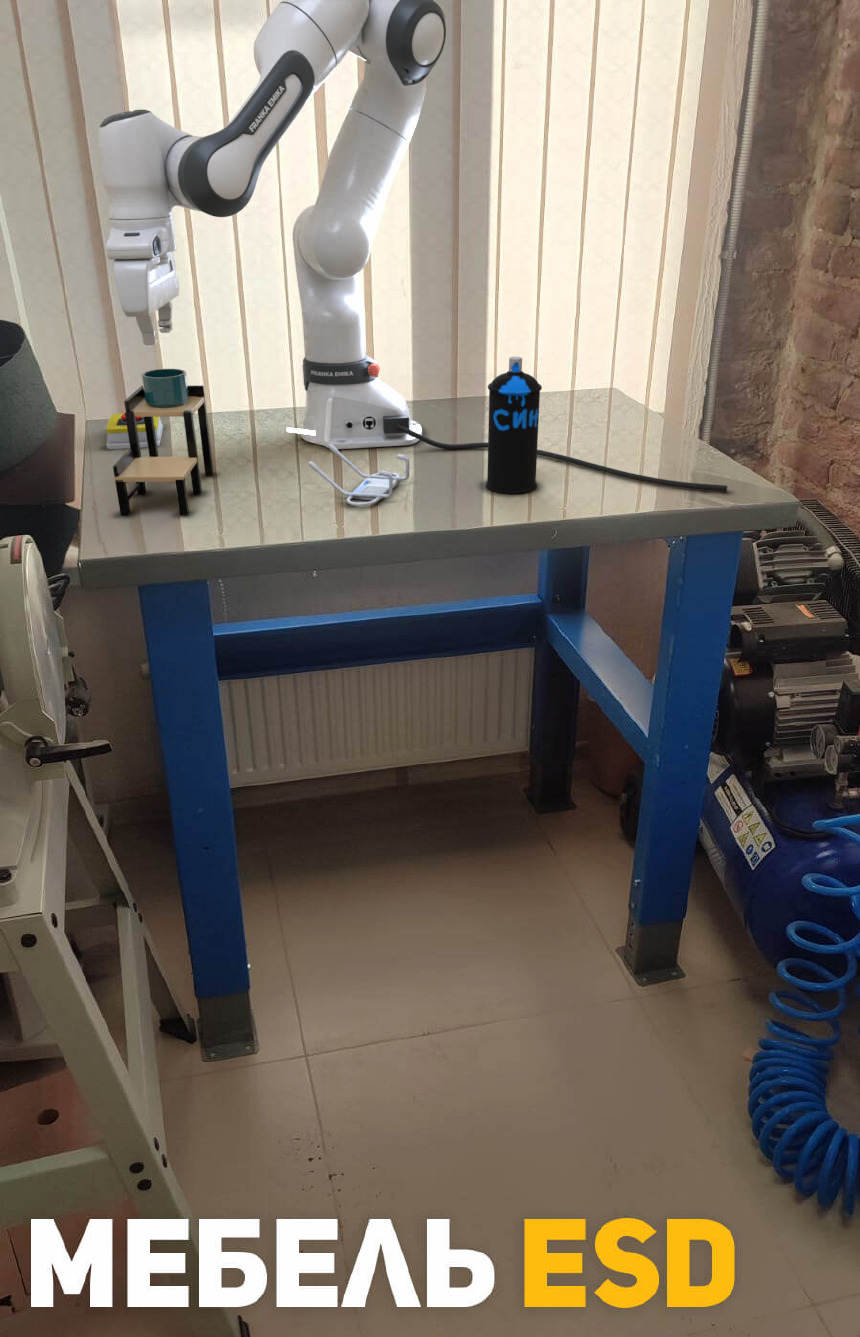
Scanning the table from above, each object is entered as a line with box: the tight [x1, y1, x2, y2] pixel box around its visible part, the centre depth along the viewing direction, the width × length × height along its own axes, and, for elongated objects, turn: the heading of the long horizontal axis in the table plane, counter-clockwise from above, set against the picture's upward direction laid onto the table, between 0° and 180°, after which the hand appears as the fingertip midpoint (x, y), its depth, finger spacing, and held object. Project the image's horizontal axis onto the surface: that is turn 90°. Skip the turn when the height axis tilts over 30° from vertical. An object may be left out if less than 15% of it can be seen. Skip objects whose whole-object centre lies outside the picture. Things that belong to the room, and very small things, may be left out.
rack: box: [112, 385, 215, 517], centre depth 154 cm, size 10×20×15 cm, turn 0°
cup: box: [140, 368, 189, 408], centre depth 155 cm, size 7×7×5 cm
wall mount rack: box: [307, 444, 410, 507], centre depth 157 cm, size 16×14×6 cm
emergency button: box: [105, 413, 164, 450], centre depth 186 cm, size 9×4×15 cm
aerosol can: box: [485, 356, 543, 495], centre depth 155 cm, size 8×8×20 cm
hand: (158, 338), depth 151 cm, fingers open, 8 cm apart
